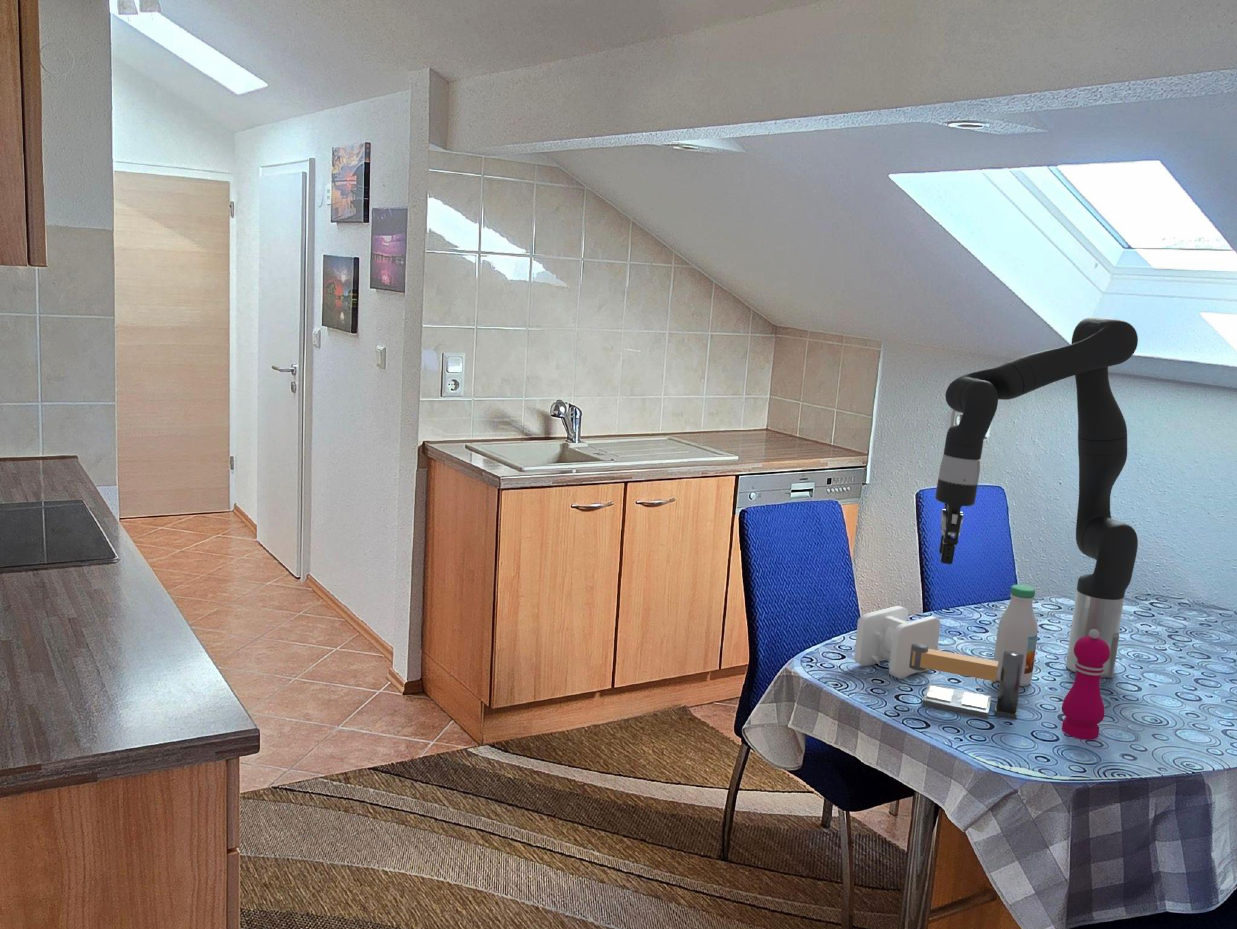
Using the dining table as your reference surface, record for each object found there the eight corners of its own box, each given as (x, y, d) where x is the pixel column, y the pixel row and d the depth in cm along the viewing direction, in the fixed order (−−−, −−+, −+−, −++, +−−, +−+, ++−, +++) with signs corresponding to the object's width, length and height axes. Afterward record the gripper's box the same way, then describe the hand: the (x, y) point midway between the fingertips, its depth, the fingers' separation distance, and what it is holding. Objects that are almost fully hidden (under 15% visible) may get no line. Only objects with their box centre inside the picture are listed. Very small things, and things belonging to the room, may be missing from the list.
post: (1017, 711, 201) (1025, 652, 198) (1016, 719, 197) (1024, 659, 195) (995, 707, 202) (1003, 648, 200) (994, 715, 199) (1001, 655, 196)
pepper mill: (1051, 723, 196) (1065, 622, 192) (1088, 724, 197) (1103, 623, 193) (1070, 741, 189) (1086, 636, 185) (1109, 741, 190) (1125, 637, 186)
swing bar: (996, 679, 201) (999, 657, 200) (995, 685, 198) (997, 663, 197) (910, 663, 207) (912, 642, 206) (908, 668, 204) (910, 647, 203)
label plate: (990, 701, 205) (991, 694, 205) (987, 719, 197) (988, 711, 196) (927, 689, 209) (928, 682, 209) (921, 705, 201) (922, 698, 201)
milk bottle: (1012, 689, 212) (1025, 594, 208) (983, 675, 218) (995, 583, 215) (1039, 684, 215) (1052, 591, 212) (1009, 670, 222) (1021, 580, 218)
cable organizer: (891, 683, 212) (897, 629, 209) (850, 666, 220) (855, 613, 217) (936, 669, 221) (942, 616, 219) (895, 653, 229) (900, 602, 227)
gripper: (980, 487, 199) (967, 570, 202) (975, 476, 212) (962, 553, 215) (939, 482, 201) (926, 563, 203) (937, 471, 214) (925, 547, 217)
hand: (945, 558), depth 209 cm, fingers open, 8 cm apart
